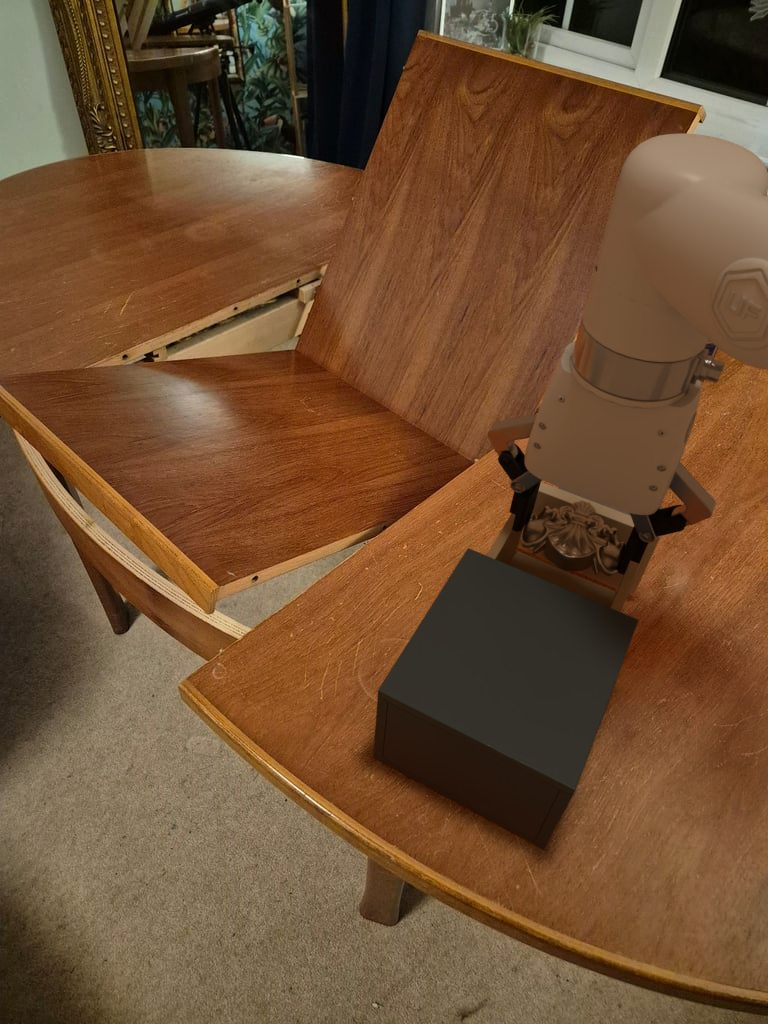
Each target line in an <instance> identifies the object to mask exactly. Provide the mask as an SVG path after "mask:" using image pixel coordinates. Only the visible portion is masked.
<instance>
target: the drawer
mask: <svg viewBox="0 0 768 1024" xmlns="http://www.w3.org/2000/svg"><path fill="white" fill-rule="evenodd" d="M580 501H585V502H588V503H590V504H591V505H592V506H593V507H594V508H595V509H596V512H595V514H594V515H597V516H600V517H601V518H602V519H603V521H604V523H603V524H604V525H605V524H607V525H608V526H609V528H610V529H612V528H613V527H614V528H616V529H617V532H616V533H617V541H618V542H619V543H620V542H624V543H625V546H626V544H627V541H628V539H629V537H630V534H631V532H632V529H633V527H634V523H633V521H632V518H631V515H630V513H629V512H625V511H622V510H619V509H617V508H614V507H611V506H608V505H605V504H603V503H600V502H597V501H595V500H592V499H589V498H587V497H584V496H581V495H579V494H576V493H574V492H571V491H568V490H566V489H563V488H561V487H558V486H554V485H550V484H549V483H545V482H542V481H541V483H540V487H539V491H538V494H537V498H536V502H535V506H534V509H533V512H532V513H535V515H536V516H538V515H539V514H540V513H541V512H542V511H543V510H544V507H545V506H549V508H550V509H554V508H557V509H558V510H559V509H560V508H561V507H562V506H569V507H571V508H572V505H573V503H574V502H580ZM514 519H515V514H512V513H510V515H509V517H508V518H507V520H506V521H505V523H504V525H503V527H502V528H501V530H500V531H499V534H498V535H497V536H496V538H495V540H494V542H493V544H492V545H491V547H490V548H489V550H488V551H487V553H486V554H485V555H486V556H488V557H491V558H493V559H495V560H498V561H500V562H503V563H505V564H507V565H510V566H512V567H514V568H517V569H519V570H522V571H524V572H526V573H529V574H531V575H533V576H536V577H538V578H541V579H543V580H545V581H548V582H550V583H552V584H555V585H557V586H560V587H562V588H564V589H567V590H569V591H571V592H574V593H576V594H579V595H581V596H583V597H586V598H588V599H590V600H593V601H595V602H598V603H600V604H602V605H605V606H607V607H609V608H612V609H614V610H617V611H619V612H621V613H622V611H623V609H624V606H625V603H626V600H627V597H628V596H629V595H631V596H634V595H635V594H636V592H637V590H638V587H639V585H640V583H641V581H642V578H643V576H644V574H645V572H646V570H647V568H648V565H649V563H650V562H651V559H652V557H653V555H654V552H655V550H656V549H657V546H658V543H659V542H660V539H661V537H662V536H658V537H656V538H655V540H654V541H653V542H650V543H648V545H647V547H646V550H645V552H644V554H643V556H642V559H641V561H640V563H639V564H638V563H636V562H633V561H631V560H630V562H629V565H628V567H627V569H626V572H625V574H624V575H623V574H620V573H618V571H617V572H616V573H615V574H613V575H611V576H607V575H605V574H603V573H602V572H599V574H598V575H595V574H594V572H593V571H592V568H591V566H590V567H589V568H587V569H585V570H583V571H575V573H578V574H580V575H583V576H585V577H587V579H586V578H584V577H583V576H580V575H577V574H574V573H572V572H571V571H565V570H562V569H559V568H558V567H556V566H554V565H553V564H550V563H548V562H550V561H549V560H548V559H547V558H546V556H545V554H544V550H543V551H541V552H540V553H537V554H533V549H532V548H530V549H528V548H524V547H523V546H522V544H521V541H520V538H521V533H522V531H523V529H522V531H519V532H516V531H514V530H512V527H513V523H514ZM523 528H524V527H523ZM519 549H520V550H522V551H524V552H527V553H529V554H532V555H534V556H536V557H539V558H541V559H544V560H546V561H548V562H545V561H543V560H540V559H538V558H536V557H533V556H531V555H528V554H526V553H523V552H521V551H518V550H519ZM588 578H590V579H592V580H594V581H597V582H599V583H602V584H604V585H607V586H609V587H611V588H614V589H615V590H613V589H611V588H608V587H606V586H603V585H601V584H599V583H596V582H594V581H591V580H589V579H588Z"/></svg>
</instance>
